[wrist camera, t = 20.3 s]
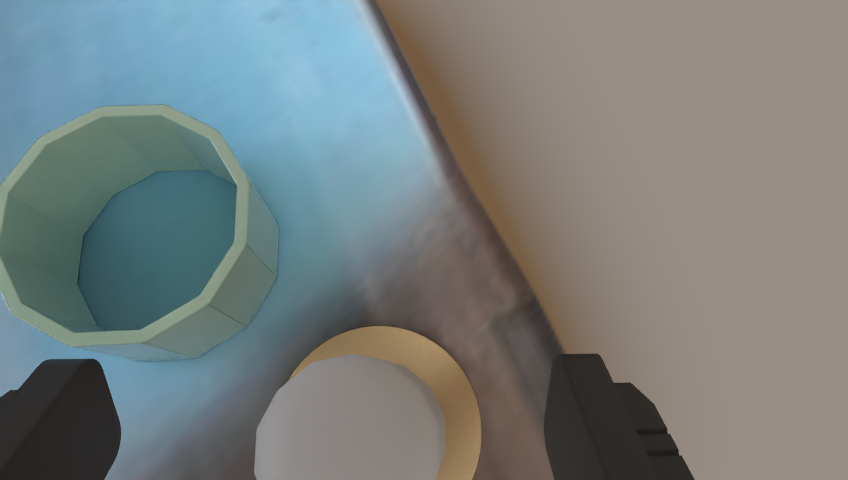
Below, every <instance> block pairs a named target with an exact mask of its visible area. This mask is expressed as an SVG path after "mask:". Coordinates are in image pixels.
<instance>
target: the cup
mask: <svg viewBox="0 0 848 480" xmlns="http://www.w3.org/2000/svg"><path fill="white" fill-rule="evenodd" d="M190 170H207V171H209V172H211V173H213V174H214V175H216V176H218V177H220V178H222V179H224V180H226V181H228V182H230V183H232V184H234V185H236V186H237V194H236V214H235V234H234V243H233V244H232V246H231V247H230V249H229V251H228V252H227V254H226V255H225V257H224V258H223V260H222V261H221V263H220V264H219V266H218V268H217V269H216V271H215V272H214V274H213V275H212V277H211V278H210V280H209V282H208V283H207V285H206V286H205V288H204V289H203V291H202V292H201V294H200V295H199V296H198V297H196V298H194V299H193V300H191V301H189V302H187V303H186V304H184V305H182V306H181V307H179V308H177V309H175V310H174V311H172V312H170V313H168V314H167V315H165V316H163V317H162V318H160V319H158V320H156V321H155V322H153V323H151V324H150V325H148V326H146V327H144V328H143V329H141V330H123V331H106V330H104V329H102V328H100V327H98V326H97V324H96V322H95V320H94V318H93V316H92V313H91V311H90V309H89V307H88V305H87V303H86V301H85V299H84V297H83V295H82V293H81V291H80V289H79V287H78V285H77V281H78V273H79V266H80V258H81V251H82V243H83V236H84V234H85V233H86V232H87V230H88V229H89V228H90V226H91V225H92V224H93V222H94V221H95V219H96V218H97V217H98V215H99V214H100V213H101V211H102V210H103V209H104V207H105V206H106V204H107V203H108V202H109V200H110V199H111V198H112V196H113V195H115V194H117V193H118V192H120V191H122V190H124V189H126V188H128V187H130V186H132V185H134V184H135V183H137V182H139V181H141V180H143V179H145V178H147V177H149V176H150V175H152V174H154V173H156V172H162V171H190ZM278 241H279V226H278V223H277V221H276V220H275V218H274V216H273V215H272V213H271V211H270V210H269V208H268V206H267V205H266V203H265V201H264V200H263V198H262V197H261V195H260V193H259V192H258V190H257V188H256V187H255V185H254V183H253V182H252V180H251V179H250V177H249V176H248V174H247V173H246V171H245V170H244V168H243V167H242V165H241V164H240V162H239V160H238V159H237V157H236V156H235V154H234V153H233V151H232V150H231V148H230V147H229V145H228V144H227V142H226V141H225V139H224V138H223V136H222V135H221V133H220V132H219V131H218V130H216V129H214V128H212V127H210V126H208V125H206V124H204V123H202V122H200V121H198V120H196V119H194V118H191V117H189V116H187V115H185V114H183V113H181V112H179V111H177V110H175V109H173V108H171V107H169V106H167V105H133V106H102V107H101V108H100V107H98V108H96V109H94V110H92V111H90V112H88V113H86V114H84V115H82V116H80V117H78V118H76V119H74V120H72V121H70V122H68V123H66V124H64V125H62V126H60V127H58V128H56V129H54V130H52V131H50V132H48V133H46V134H44V135H42V136H40V138H38V139H37V140H36V141H35V143H34V144H33V145H32V146H31V148H30V149H29V150H28V151H27V153H26V154H25V155H24V156H23V158H22V159H21V160H20V161H19V162H18V164H17V165H16V166H15V167H14V169H13V170H12V171H11V172H10V174H9V175H8V176H7V177H6V179H5V180H4V181H3V182H2V184H1V185H0V292H1V294H2V297H3V299H4V301H5V303H6V305H7V308H8V310H9V312H10V313H11V314H12V315H14V316H15V317H17V318H19V319H21V320H22V321H24V322H26V323H28V324H30V325H31V326H33V327H35V328H37V329H38V330H40V331H42V332H44V333H45V334H47V335H49V336H51V337H53V338H54V339H56V340H58V341H60V342H61V343H63V344H65V345H67V346H70V347H75V348H80V349H84V350H89V351H93V352H98V353H103V354H107V355H112V356H116V357H121V358H126V359H130V360H135V361H152V360H173V359H193V358H197V357H199V356H200V355H202V354H204V353H205V352H207V351H209V350H210V349H212V348H214V347H215V346H217V345H219V344H220V343H222V342H224V341H225V340H227V339H229V338H230V337H232V336H234V335H235V334H237V333H239V332H240V331H242V330H243V329H245V328H246V327H247V326H249V324H250V322H251V321H252V319H253V317H254V316H255V314H256V312H257V311H258V309H259V307H260V306H261V304H262V303H263V301H264V299H265V298H266V296H267V294H268V293H269V291H270V289H271V288H272V286H273V284H274V283H275V281H276V279H277V278H276V277H277V276H278Z"/></svg>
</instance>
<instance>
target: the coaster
mask: <svg viewBox="0 0 848 480" xmlns="http://www.w3.org/2000/svg"><path fill="white" fill-rule="evenodd" d="M347 354H356V355H361V356H366V357H371V358H376V359H380V360H385V361H390V362H391V363H393V364H398V365H403V366H405V367H406V368H408V369H409V370H410V371H411V372H413V373H414V374H415V375H416V376H417V377H419V378H420V379H421V380H422V381H424V382H425V383H426V384H427V385H428V386H430V388H431V390H432V392H433V394H434V396H435V398H436V400H437V402H438V404H439V406H440V408H441V410H442V412H443V414H444V416H445V443H446V453H445V455H444V458H443V460H442V462H441V465H440V470H439V473H438V475H437V478H436V480H472V478H473V476H474V473H475V470H476V468H477V463H478V459H479V455H480V448H481V439H482V437H481V419H480V411H479V407H478V403H477V400H476V396H475V394H474V391H473V389H472V387H471V384H470V382H469V381H468V379H467V377H466V375H465V373H464V372H463V370H462V369H461V368H460V366H459V365H458V364H457V362H456V361H455V360H454V359H453V358H452V357H451V356H450V355H449V354H448V353H447V352H446V351H445V350H444V349H442V348H441V347H440V346H439V345H437V344H436V343H434V342H433V341H431V340H429V339H428V338H426V337H424V336H422V335H419V334H417V333H415V332H412V331H409V330H405V329H402V328H396V327H390V326H371V327H362V328H358V329H354V330H350V331H347V332H344V333H342V334H339V335H337V336H335V337H333V338H331V339H329V340H328V341H326V342H324V343H323V344H321V345H320V346H319V347H317V348H316V349H314V350H313V351H312V352H311V353H310V354H309V355H308V356H307V357H306V358H305V359H304V360H303V361H302V362H301V363H300V365H299V366H298V367H297V368H296V369H295V371H294V372H293V374H292V375H291V377H290V378H289V380H288V381H290V380H291V379H292V378H293V377H295V376H296V375H297V374H298V373H300V372H301V371H302V370H303V369H304V368H306V367H307V366H308V365H309V364H311V363H312V362H317V361H321V360H325V359H330V358H334V357H338V356H343V355H347Z"/></svg>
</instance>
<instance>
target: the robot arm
mask: <svg viewBox="0 0 848 480" xmlns="http://www.w3.org/2000/svg"><path fill="white" fill-rule="evenodd" d="M544 435H545V444H546V450H547V454H548V458H549V462H550V465H551V469H552V472H553V476H554V479H555V480H694V478H693V476H692V474H691V472H690V471H689V469H688V467H687V465H686V463H685V461H684V459H683V458H682V456H679V453H678V451H679V450H678V448H677V446H676V444H675V442H674V441H673V439H672V437H671V435H670V434H668V433H667V428H666V426H665V424H664V422H663V420H662V418H661V416H660V415H659V413H658V411H657V409H656V407H655V405H654V404H653V403H652V402H651V401H650V400H649V399H648V398H647V397H646V396H645V395H643V394H642V393H641V392H640V391H639V390H638V389H637V388H636V387H635V386H634V385H633V384H631V383H613V381H612V379H611V377H610V374H609V372H608V370H607V368H606V366H605V364H604V362H603V360H602V358H601V356H600V355H598V354H556V355H555V356H554V358H553V362H552V368H551V375H550V382H549V389H548V396H547V403H546V410H545V417H544ZM120 440H121V426H120V421H119V418H118V415H117V412H116V409H115V406H114V403H113V400H112V396H111V393H110V390H109V387H108V384H107V381H106V378H105V375H104V372H103V369H102V366H101V365H100V363H99V362H98V361H97V360H95V359H50V360H46V361H44V362H42V363H41V364H40V365H39V366H38V367H37V368H36V369H35V371H34V372H33V373H32V374H31V375H30V376H29V378H28V379H27V380H26V381H25V382H24V383H23V385H22V386H21V387H20V388H19V389H18V390H10V391H9V392H7V393H6V394H5V395H3V396H2V397H0V480H104V479H105V477H106V475H107V473H108V471H109V470H110V468H111V466H112V464H113V462H114V460H115V458H116V456H117V453H118V450H119V446H120Z"/></svg>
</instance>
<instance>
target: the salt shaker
mask: <svg viewBox="0 0 848 480" xmlns="http://www.w3.org/2000/svg"><path fill="white" fill-rule="evenodd" d="M445 453H446V443H445V416H444V414H443V412H442V410H441V408H440V406H439V404H438V402H437V400H436V398H435V396H434V394H433V392H432V390H431V388H430V386H428V385H427V384H426V383H425V382H424V381H422V380H421V379H420V378H419V377H417V376H416V375H415V374H414V373H413V372H411V371H410V370H409V369H408V368H406V367H405V366H403V365H398V364H393V363H391V362H390V361H385V360H380V359H376V358H371V357H366V356H361V355H356V354H347V355H343V356H338V357H334V358H330V359H325V360H321V361H317V362H312V363H311V364H309V365H308V366H307V367H306V368H304V369H303V370H302V371H301V372H300V373H298V374H297V375H296V376H295V377H293V378H292V379H291V380H290V381H288V382H287V383H286V384H285V385H284V386H282V387H281V388H280V389H279V390H277V392H276V394H275V396H274V398H273V399H272V401H271V403H270V405H269V407H268V409H267V411H266V412H265V414H264V416H263V418H262V420H261V422H260V424H259V425H258V427H257V431H256V449H255V467H254V474H255V477H256V479H257V480H436V478H437V475H438V473H439V470H440V465H441V462H442V460H443V458H444V455H445Z"/></svg>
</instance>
